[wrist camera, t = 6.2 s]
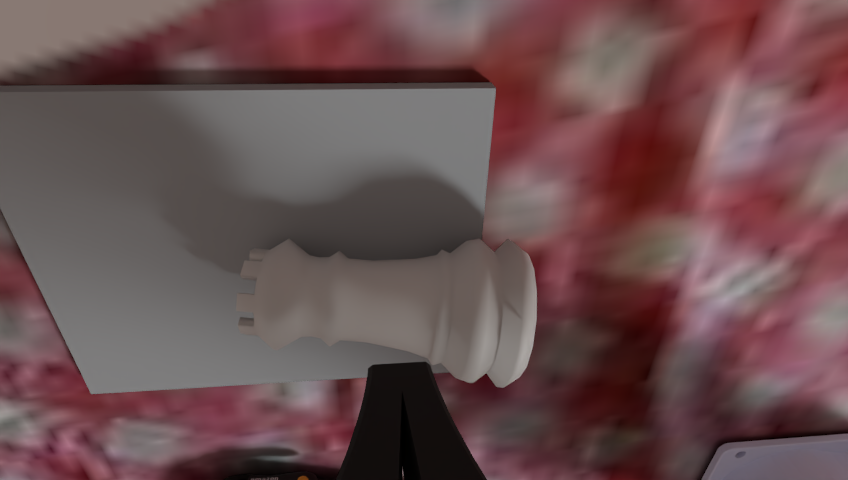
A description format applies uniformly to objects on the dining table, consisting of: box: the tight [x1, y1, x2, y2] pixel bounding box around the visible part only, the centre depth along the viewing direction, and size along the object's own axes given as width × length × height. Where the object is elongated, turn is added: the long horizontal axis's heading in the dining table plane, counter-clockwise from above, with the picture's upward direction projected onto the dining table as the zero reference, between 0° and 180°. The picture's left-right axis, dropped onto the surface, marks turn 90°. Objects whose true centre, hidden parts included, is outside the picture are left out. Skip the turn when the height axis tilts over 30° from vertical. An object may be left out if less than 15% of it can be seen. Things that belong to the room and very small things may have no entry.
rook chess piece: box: [236, 239, 537, 388], centre depth 15 cm, size 4×4×8 cm
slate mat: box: [0, 82, 496, 394], centre depth 16 cm, size 14×11×1 cm
